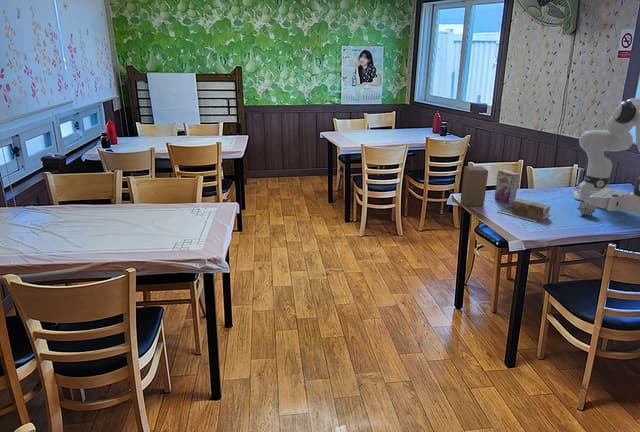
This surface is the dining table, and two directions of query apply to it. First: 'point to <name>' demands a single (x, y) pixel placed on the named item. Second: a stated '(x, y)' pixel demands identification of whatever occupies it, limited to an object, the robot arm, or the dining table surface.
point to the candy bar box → (506, 186)
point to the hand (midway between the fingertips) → (585, 192)
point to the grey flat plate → (508, 212)
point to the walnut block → (530, 209)
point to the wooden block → (474, 185)
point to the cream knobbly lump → (586, 208)
